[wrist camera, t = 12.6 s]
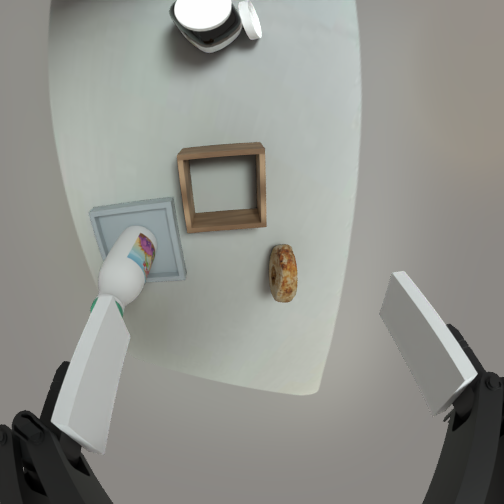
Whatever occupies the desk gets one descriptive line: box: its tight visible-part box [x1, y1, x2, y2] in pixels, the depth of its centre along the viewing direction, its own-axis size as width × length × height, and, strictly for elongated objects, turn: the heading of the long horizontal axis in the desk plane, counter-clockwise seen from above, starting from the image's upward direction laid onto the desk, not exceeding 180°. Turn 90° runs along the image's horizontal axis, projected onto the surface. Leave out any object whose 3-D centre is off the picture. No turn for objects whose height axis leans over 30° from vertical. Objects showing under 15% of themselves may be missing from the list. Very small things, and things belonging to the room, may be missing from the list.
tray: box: [89, 197, 186, 282], centre depth 49 cm, size 16×16×2 cm
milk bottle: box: [91, 225, 158, 317], centre depth 41 cm, size 8×8×20 cm
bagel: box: [269, 244, 297, 302], centre depth 51 cm, size 10×4×10 cm, turn 176°
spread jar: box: [169, 0, 262, 53], centre depth 27 cm, size 12×11×12 cm
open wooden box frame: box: [177, 142, 266, 233], centre depth 44 cm, size 13×13×6 cm
